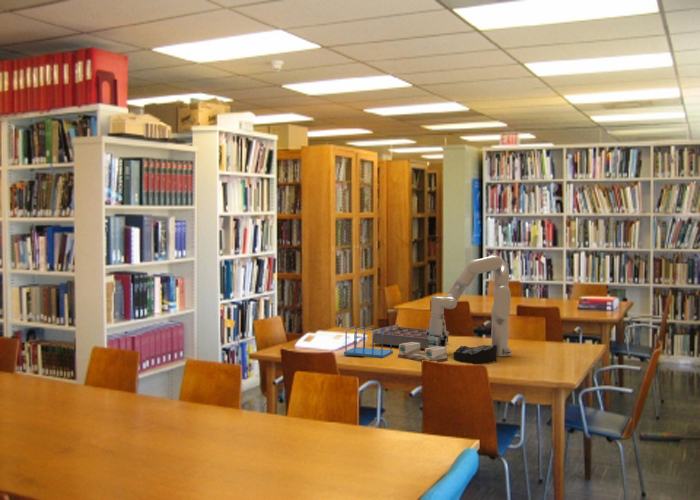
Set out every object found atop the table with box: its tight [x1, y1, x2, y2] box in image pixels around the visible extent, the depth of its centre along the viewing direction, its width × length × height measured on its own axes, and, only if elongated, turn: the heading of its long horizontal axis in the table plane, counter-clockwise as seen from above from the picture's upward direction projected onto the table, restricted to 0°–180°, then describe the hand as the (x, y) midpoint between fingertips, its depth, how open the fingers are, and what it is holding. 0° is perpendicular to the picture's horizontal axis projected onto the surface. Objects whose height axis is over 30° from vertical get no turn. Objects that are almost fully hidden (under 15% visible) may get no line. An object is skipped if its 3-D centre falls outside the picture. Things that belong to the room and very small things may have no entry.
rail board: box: [397, 342, 449, 363], centre depth 413 cm, size 26×14×8 cm, turn 43°
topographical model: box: [453, 344, 498, 365], centre depth 412 cm, size 25×25×10 cm
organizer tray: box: [374, 323, 449, 350], centre depth 461 cm, size 32×40×10 cm
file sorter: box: [343, 326, 394, 359], centre depth 428 cm, size 25×17×15 cm
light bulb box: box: [428, 335, 447, 348], centre depth 428 cm, size 11×7×11 cm, turn 143°
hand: (436, 344), depth 428 cm, fingers open, 9 cm apart
